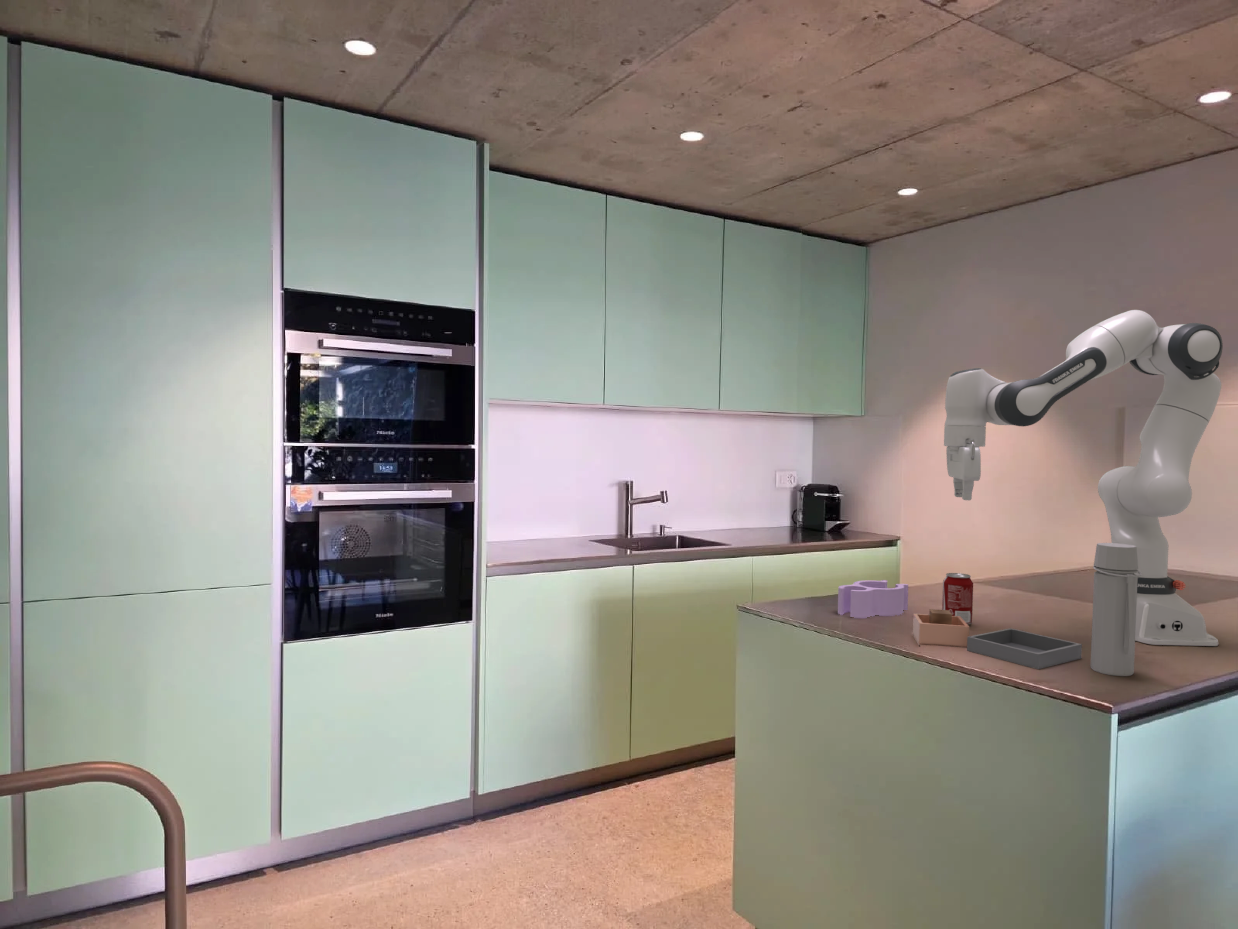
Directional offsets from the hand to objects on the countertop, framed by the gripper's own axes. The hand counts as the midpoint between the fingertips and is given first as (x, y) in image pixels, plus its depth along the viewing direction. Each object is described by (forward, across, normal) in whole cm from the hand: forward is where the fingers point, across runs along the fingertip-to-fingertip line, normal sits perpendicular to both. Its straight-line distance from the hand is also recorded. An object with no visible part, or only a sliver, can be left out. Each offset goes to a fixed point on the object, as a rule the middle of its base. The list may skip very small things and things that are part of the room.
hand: (962, 498), depth 187 cm
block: (+30, -12, +6) cm, 33 cm away
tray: (+31, -20, -9) cm, 38 cm away
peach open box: (+31, -12, +6) cm, 34 cm away
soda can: (+31, +8, -1) cm, 32 cm away
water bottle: (+31, -29, -23) cm, 48 cm away
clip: (+31, +16, +18) cm, 40 cm away
